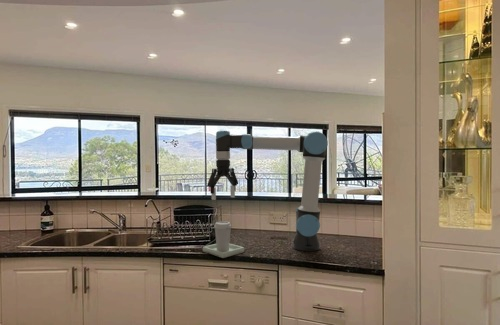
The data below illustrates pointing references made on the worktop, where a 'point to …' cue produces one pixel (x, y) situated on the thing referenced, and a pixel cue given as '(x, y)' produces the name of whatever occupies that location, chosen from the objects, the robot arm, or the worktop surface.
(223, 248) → the coffee cup
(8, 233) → the worktop surface
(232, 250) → the tray
